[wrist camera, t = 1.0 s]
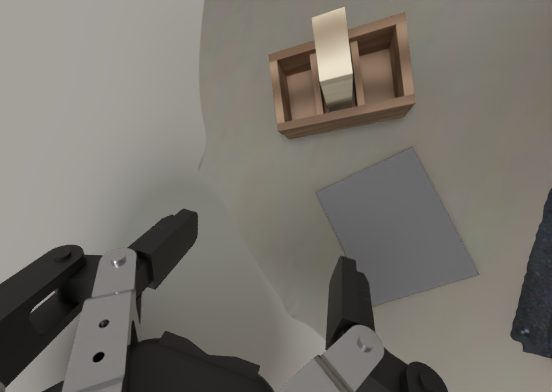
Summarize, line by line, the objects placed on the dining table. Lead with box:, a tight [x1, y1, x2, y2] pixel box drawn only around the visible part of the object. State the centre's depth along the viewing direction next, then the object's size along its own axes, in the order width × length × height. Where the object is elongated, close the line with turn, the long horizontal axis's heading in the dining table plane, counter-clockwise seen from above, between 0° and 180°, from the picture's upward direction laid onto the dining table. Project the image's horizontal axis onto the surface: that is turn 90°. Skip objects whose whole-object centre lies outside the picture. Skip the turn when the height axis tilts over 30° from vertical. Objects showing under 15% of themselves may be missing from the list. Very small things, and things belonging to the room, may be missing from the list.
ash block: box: [312, 7, 353, 112], centre depth 28 cm, size 6×3×12 cm, turn 7°
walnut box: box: [269, 12, 416, 139], centre depth 32 cm, size 10×16×6 cm, turn 97°
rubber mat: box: [316, 147, 480, 307], centre depth 33 cm, size 18×14×1 cm
